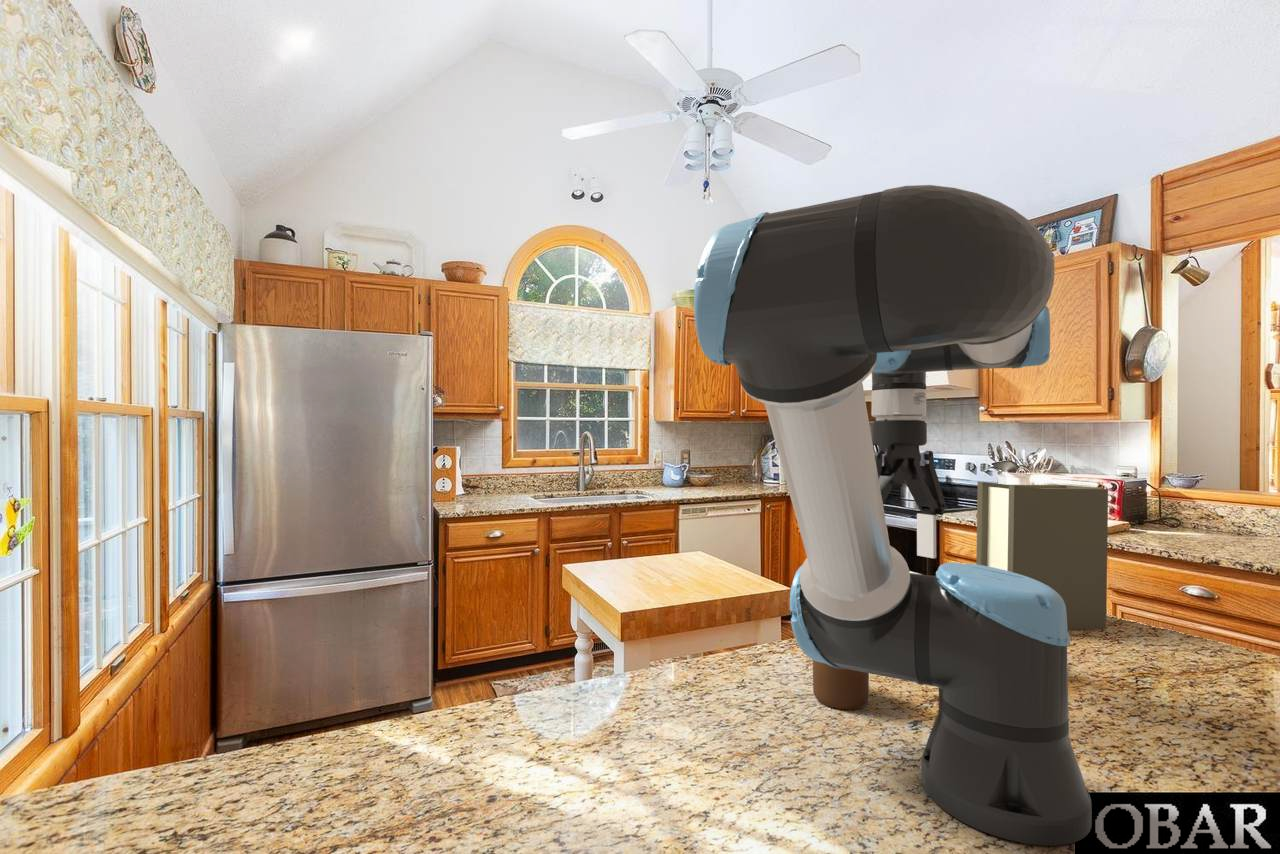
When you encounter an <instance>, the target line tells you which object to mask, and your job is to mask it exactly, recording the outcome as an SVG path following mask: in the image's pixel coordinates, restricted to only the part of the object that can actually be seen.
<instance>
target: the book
mask: <svg viewBox="0 0 1280 854" xmlns="http://www.w3.org/2000/svg"><path fill="white" fill-rule="evenodd" d="M976 498H977V502H976V505H977V507H976V510H977V511H976V512H977V513H976V558H975V559H976V562H975V564H976V565H983V566H988V567H993V568H998V569H1002V570H1006V571H1010V572H1014V573H1017V574H1020V575H1023V576H1027V577H1029V578H1032V579H1035V580H1037V581H1039V582H1042V583H1044V584H1046V585H1047V586H1049V587H1051V588H1052V589H1053V590H1055V591H1056V592H1057V593H1058V594H1059V595H1060V596H1061V597H1062V599H1063V601H1064V603H1065V606H1066V614H1067V628H1068V631H1069V630H1070V631H1071V630H1074V631H1075V630H1107V605H1108V604H1107V598H1108V597H1107V596H1108V595H1107V594H1108V593H1107V592H1108V591H1107V590H1108V589H1107V588H1108V534H1109V533H1108V531H1109V530H1108V527H1109V524H1108V522H1109V519H1108V518H1109V517H1108V516H1109V488H1101V487H1100V488H1099V487H1093V486H1083V485H1082V486H1081V485H1080V486H1079V485H1072V484H1003V483H994V482H986V481H980V480H979V481H977V496H976Z"/></svg>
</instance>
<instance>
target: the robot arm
mask: <svg viewBox="0 0 1280 854" xmlns="http://www.w3.org/2000/svg"><path fill="white" fill-rule="evenodd" d="M1055 271H1056V270H1055V258H1054V256H1053V251H1052V250H1051V246H1050V244H1049V243H1048V241H1047V240H1046V237H1045V236H1044V234H1042V232H1041V231H1040V230H1039V228H1037V226H1036V225H1035V224H1034V223H1033V222H1032V221H1031V220H1029V218H1027V217H1025V216H1024V215H1022V214H1021V213H1019V212H1018V211H1017V210H1015V209H1014V208H1012V207H1010V206H1008V205H1006V204H1005V203H1003V202H1002V201H1001V202H1000V201H999V200H996V199H993V198H991V197H988V196H985V195H982V194H980V193H977V192H973V191H969V190H965V189H961V188H956V187H949V186H941V185H933V184H924V185H923V184H922V185H921V184H920V185H919V184H918V185H903V186H898V187H893V188H887V189H884V190H883V191H882V190H881V191H877V192H872V193H868V194H862V195H857V196H852V197H847V198H841V199H836V200H831V201H827V202H821V203H817V204H812V205H808V206H803V207H798V208H792V209H786V210H782V211H776V212H768V211H765V212H761V213H760V214H758V215H757V216H755V217H751V218H747V219H743V220H740V221H736V222H732V223H729V224H726V225H724V226H722V227H720V228H718V230H716V231H715V232H714V233H713V234H712V236H711V237H710V238H709V239H708V241H707V243H706V244H705V247H704V249H703V251H702V252H701V256H700V258H699V262H698V267H697V271H696V279H695V282H694V284H695V285H694V292H693V293H694V295H693V296H694V297H693V313H694V314H693V315H694V323H695V331H696V336H697V339H698V343H699V346H700V348H701V351H702V353H703V354H704V355H705V357H706V358H707V359H708V360H710V361H711V362H712V363H713V364H716V365H721V366H723V367H726V366H730V365H732V364H733V365H734V366H735V368H736V371H737V374H738V378H739V381H740V385H741V387H742V389H743V391H744V393H745V394H746V395H747V396H748V397H749V398H751V399H753V400H755V401H757V402H759V403H763V404H764V406H765V410H766V414H767V417H768V421H769V425H770V428H771V431H772V435H773V439H774V443H775V445H776V450H777V453H778V457H779V460H780V465H781V468H782V471H783V474H784V479H785V483H786V486H787V489H788V493H789V496H790V500H791V501H790V502H791V504H792V507H793V511H794V515H795V519H796V521H797V525H798V529H799V532H800V533H799V534H800V537H801V541H802V544H803V548H804V551H805V555H806V558H805V560H804V561H803V563H802V565H801V566H799V567H798V568H797V570H796V572H795V574H794V577H793V580H792V583H791V587H790V594H789V595H790V596H789V611H791V618H790V624H791V625H790V626H791V630H792V633H793V636H794V639H795V642H796V644H797V645H798V647H799V649H800V650H801V652H802V653H803V654H804V655H805V656H806V657H807V658H808V659H810V660H812V661H813V660H814V661H817V662H821V663H825V664H828V665H829V666H832V667H834V668H838V669H839V668H841V669H849V670H854V671H860V672H865V673H869V675H870V674H871V675H877V676H881V677H886V678H892V679H897V680H902V681H907V682H912V683H917V684H918V683H921V684H920V685H927V686H931V687H936V688H937V689H938V712H937V714H936V717H935V720H934V722H933V725H932V727H931V731H930V732H929V736H928V739H927V741H926V744H925V748H924V750H923V751H922V756H921V761H920V762H921V763H920V765H921V767H920V769H921V771H920V772H921V773H920V774H921V775H920V776H921V784H922V786H923V788H924V791H925V792H926V794H927V795H928V796H929V797H930V799H931V800H932V801H933V802H934V803H935V804H936V805H937V806H938V807H940V809H942V810H943V811H945V812H946V813H948V814H949V815H950V816H952V817H953V818H955V819H956V820H959V821H960V822H962V823H964V824H966V825H968V826H970V827H971V828H975V829H976V830H979V831H982V832H984V833H987V834H989V835H991V836H995V837H997V838H1001V839H1004V840H1009V841H1012V842H1016V843H1017V842H1018V843H1022V844H1029V845H1034V846H1046V847H1047V846H1050V847H1051V846H1064V845H1070V844H1073V843H1076V842H1079V841H1081V840H1083V839H1084V838H1086V837H1087V836H1088V835H1089V834H1090V832H1091V829H1092V826H1093V825H1092V824H1093V823H1092V822H1093V819H1092V817H1093V816H1092V814H1093V811H1092V809H1093V808H1092V807H1093V806H1092V799H1091V796H1090V792H1089V790H1088V789H1087V786H1086V783H1085V780H1084V777H1083V774H1082V771H1081V767H1080V764H1079V762H1078V759H1077V757H1076V754H1075V751H1074V748H1073V746H1072V743H1071V740H1070V739H1071V738H1070V729H1069V726H1070V725H1069V721H1070V720H1069V717H1070V716H1069V712H1070V711H1069V683H1068V682H1069V681H1068V678H1069V675H1068V672H1069V671H1068V646H1070V645H1071V636H1070V634H1069V630H1068V628H1067V614H1066V606H1065V603H1064V601H1063V599H1062V597H1061V596H1060V595H1059V594H1058V593H1057V592H1056V591H1055V590H1053V589H1052V588H1051V587H1049V586H1047V585H1046V584H1044V583H1042V582H1039V581H1037V580H1035V579H1032V578H1029V577H1027V576H1023V575H1020V574H1017V573H1014V572H1010V571H1006V570H1002V569H998V568H993V567H988V566H983V565H976V563H961V562H946V563H943V564H940V565H939V566H938V568H937V570H936V572H935V575H927V574H923V573H919V574H915V573H916V572H915V573H910V571H911V570H910V568H909V566H908V563H907V561H906V559H905V558H904V556H903V555H902V554H901V553H900V552H899V551H898V550H897V549H896V548H895V547H894V546H892V545H890V539H889V532H888V526H887V521H886V516H885V515H886V514H885V508H884V504H885V502H886V501H887V498H888V496H889V494H890V492H891V490H892V489H893V487H894V486H896V485H898V483H904V484H905V485H906V487H907V489H908V490H909V492H910V495H911V497H912V498H913V500H914V501H915V504H916V505H917V507H918V509H919V512H920V513H916V556H917V557H918V556H919V557H924V558H928V559H929V558H930V559H937V516H943V515H944V513H945V510H946V507H947V505H946V501H945V497H944V493H943V491H942V490H943V489H942V487H941V484H940V480H939V477H938V474H937V471H936V468H935V461H934V460H935V459H934V453H933V451H932V450H920V447H921V446H925V445H926V444H927V442H928V436H927V435H928V431H927V430H928V427H927V426H928V425H927V422H926V420H923V417H926V416H927V400H928V398H927V373H928V372H929V373H931V372H932V373H933V372H947V371H948V372H949V371H959V370H960V371H963V370H964V371H965V370H981V369H982V370H986V369H987V370H989V369H1021V368H1024V367H1025V368H1026V367H1034V366H1037V367H1038V366H1041V365H1045V364H1046V363H1047V362H1048V361H1049V359H1050V352H1051V317H1050V315H1051V314H1050V309H1049V307H1048V306H1047V303H1048V302H1049V299H1050V297H1051V294H1052V290H1053V288H1054V283H1055ZM870 374H871V416H872V418H875V420H873V421H872V423H871V426H870V420H869V414H868V408H867V402H866V397H865V391H864V385H863V381H865V380H866V379H867V378H868V377H869V376H870ZM874 446H877V447H878V450H877V451H875V450H874Z"/></svg>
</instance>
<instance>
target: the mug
mask: <svg viewBox="0 0 1280 854" xmlns="http://www.w3.org/2000/svg"><path fill="white" fill-rule="evenodd" d="M869 675H870V673H865V672H860V671H854V670H849V669H841V668H839V669H838V668H834V667H832V666H829V665H828V664H825V663H821V662H817V661H814V660H812V688H813V689H812V690H813V696H814V698H815V699H816V700H817V701H819V702H820V703H821V704H822V705H825V706H827V707H830V708H833V709H839V710H848V711H849V710H858V709H861V708H863V707H865V706H866V705H867V703H868V701H869V695H870V693H869V692H870V691H869V690H870V688H869V687H870V685H869V684H870V683H869V682H870V680H869V679H870V678H869Z"/></svg>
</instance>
